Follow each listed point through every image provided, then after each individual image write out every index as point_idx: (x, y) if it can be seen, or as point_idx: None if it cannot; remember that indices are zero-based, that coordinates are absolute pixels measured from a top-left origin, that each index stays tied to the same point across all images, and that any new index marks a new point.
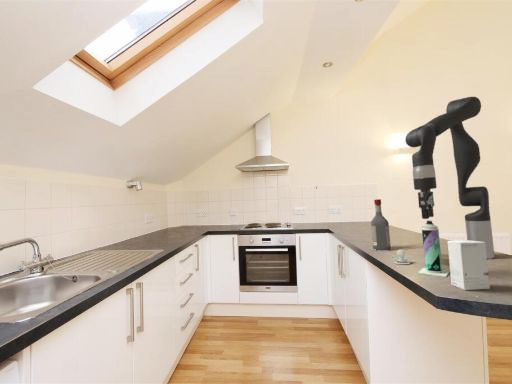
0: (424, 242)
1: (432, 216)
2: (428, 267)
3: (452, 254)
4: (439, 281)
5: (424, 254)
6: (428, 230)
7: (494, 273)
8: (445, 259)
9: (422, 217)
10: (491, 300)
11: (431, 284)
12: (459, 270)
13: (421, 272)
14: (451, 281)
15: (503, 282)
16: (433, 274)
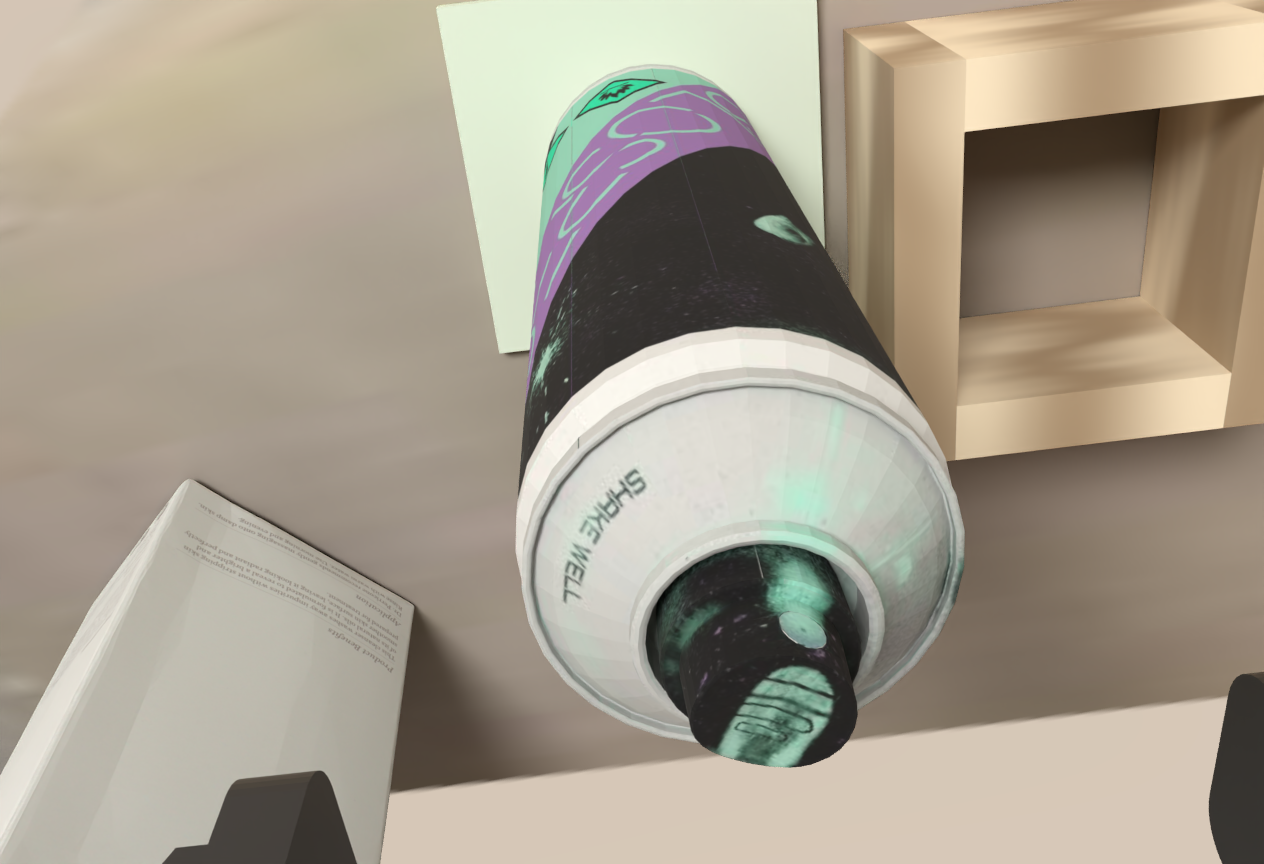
0: (562, 269)
1: (1217, 825)
2: (550, 154)
3: (19, 775)
4: (245, 345)
5: (602, 148)
6: (519, 547)
7: (985, 646)
8: (888, 330)
9: (231, 814)
10: (2, 766)
11: (44, 318)
12: (44, 699)
13: (473, 52)
14: (171, 501)
15: (645, 743)
16: (476, 217)
